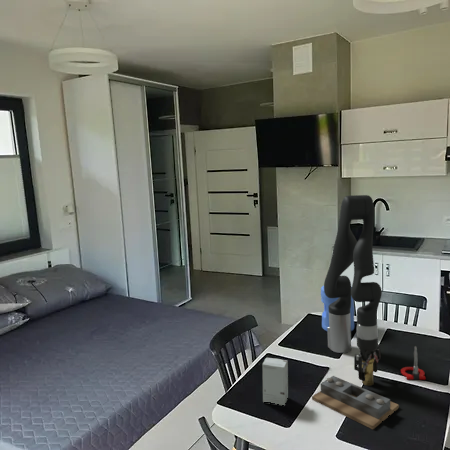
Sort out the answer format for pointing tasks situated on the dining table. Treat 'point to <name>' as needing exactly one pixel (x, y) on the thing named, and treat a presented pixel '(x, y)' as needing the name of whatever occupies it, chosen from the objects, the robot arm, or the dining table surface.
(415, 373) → the tow hook
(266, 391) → the skincare box
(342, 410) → the board
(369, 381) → the pin
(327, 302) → the water jug
